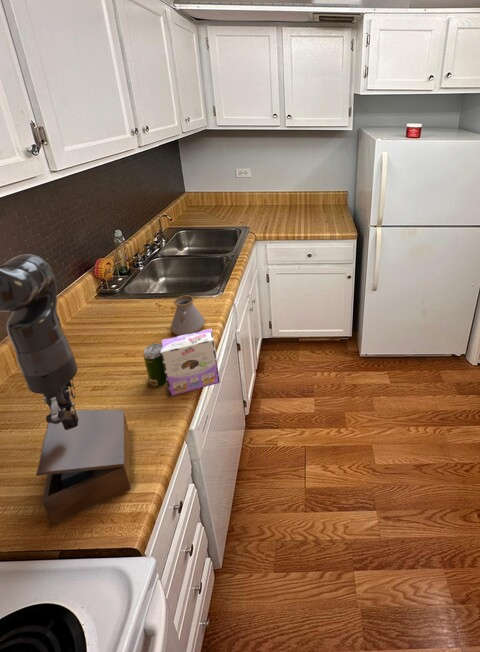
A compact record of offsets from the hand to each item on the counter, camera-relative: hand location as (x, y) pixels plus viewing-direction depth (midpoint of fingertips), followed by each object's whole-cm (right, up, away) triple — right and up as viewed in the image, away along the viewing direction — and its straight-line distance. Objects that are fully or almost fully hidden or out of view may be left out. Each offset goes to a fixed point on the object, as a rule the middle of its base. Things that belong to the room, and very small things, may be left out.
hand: (72, 425), depth 68 cm
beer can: (+3, -5, +31) cm, 32 cm away
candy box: (+14, -6, +30) cm, 34 cm away
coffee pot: (+5, +2, +49) cm, 49 cm away
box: (+1, -15, +6) cm, 16 cm away
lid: (+1, -4, +2) cm, 5 cm away
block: (-2, -15, +5) cm, 16 cm away
